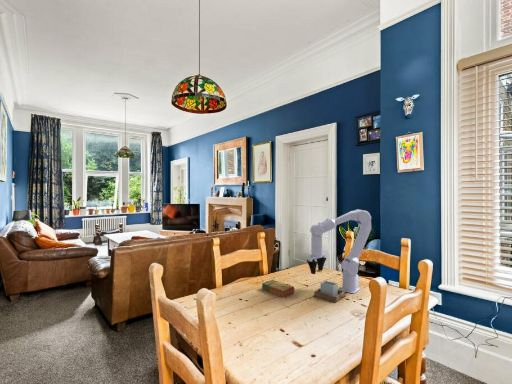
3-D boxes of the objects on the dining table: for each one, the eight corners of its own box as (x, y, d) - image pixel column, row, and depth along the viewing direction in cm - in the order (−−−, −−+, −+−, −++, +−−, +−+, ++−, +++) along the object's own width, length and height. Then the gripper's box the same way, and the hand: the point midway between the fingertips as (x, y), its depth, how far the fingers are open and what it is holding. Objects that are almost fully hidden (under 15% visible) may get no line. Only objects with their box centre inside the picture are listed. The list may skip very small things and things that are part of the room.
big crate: (323, 290, 146) (323, 286, 146) (345, 296, 138) (345, 291, 138) (314, 296, 139) (314, 291, 139) (336, 302, 131) (336, 297, 131)
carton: (283, 298, 137) (283, 290, 137) (261, 290, 149) (261, 282, 149) (294, 294, 143) (294, 286, 143) (272, 286, 154) (272, 278, 154)
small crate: (325, 292, 143) (325, 280, 143) (337, 295, 138) (337, 283, 138) (320, 294, 139) (320, 283, 139) (333, 298, 135) (333, 286, 135)
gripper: (316, 244, 155) (316, 267, 155) (303, 248, 144) (303, 273, 144) (328, 245, 150) (328, 270, 150) (314, 250, 139) (315, 276, 139)
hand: (316, 272), depth 147 cm, fingers open, 7 cm apart
